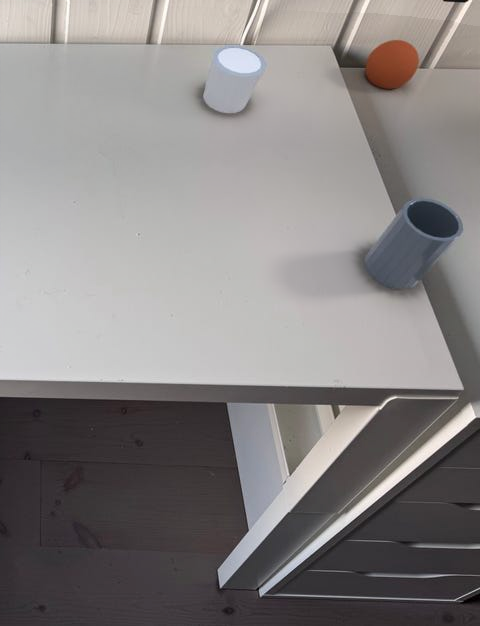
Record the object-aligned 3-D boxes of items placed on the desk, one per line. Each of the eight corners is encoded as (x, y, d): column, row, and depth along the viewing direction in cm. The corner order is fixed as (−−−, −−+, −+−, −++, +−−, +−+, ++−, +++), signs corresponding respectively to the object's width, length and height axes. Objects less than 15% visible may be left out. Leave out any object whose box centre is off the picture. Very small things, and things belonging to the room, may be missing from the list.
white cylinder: (254, 101, 93) (274, 56, 87) (237, 128, 90) (255, 83, 84) (208, 82, 95) (224, 37, 89) (189, 108, 91) (204, 63, 86)
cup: (403, 253, 78) (449, 198, 71) (422, 294, 75) (473, 241, 67) (353, 252, 78) (394, 197, 70) (370, 294, 74) (415, 240, 67)
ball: (394, 71, 98) (418, 31, 93) (409, 99, 95) (436, 59, 89) (351, 69, 98) (373, 29, 93) (365, 98, 94) (389, 57, 89)
